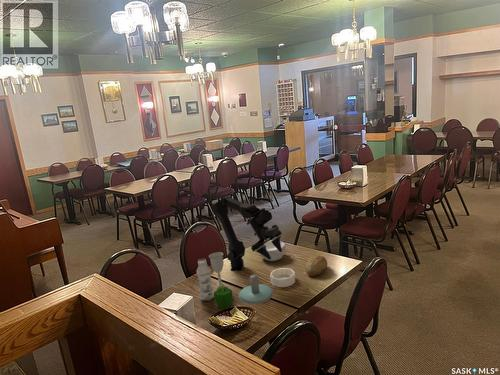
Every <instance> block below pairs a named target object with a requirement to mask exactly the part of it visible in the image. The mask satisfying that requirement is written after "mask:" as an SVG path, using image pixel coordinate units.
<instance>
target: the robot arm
mask: <svg viewBox="0 0 500 375" xmlns="http://www.w3.org/2000/svg"><path fill="white" fill-rule="evenodd" d="M228 207H229V208H231V209H233V210H235V211H236V212H238V213H240V215H241V216H242V217H243V218H244V219H247V222H246V225H247V226H248V225H250V227H251V228H252V229H253V231H254V233H253V234H254V236H256V237H257V238H258V241H256V243H254V244H252V245H251V251H252V252H255V253H258V254H259V255H260V254H262V255H263V256H265V257H266V258H268V259H269V260H270V259H271V257H270V255H269V253H268V252H267V250H266V245H265V246H264V244H265V243H266V242H268V241H271V242H272V244H273V245H274V246H275V247H276V248H277V249H278V250H279V251H280V252H282V249H281V245H280V241H281V237H282V234H283V233H282V231H281V230H280V227H279V226H278V224H273V225H272V226H271V227H269V226H267V225H266V224H267V223H269V222H270V221H271V220H272V218H273V215H272V212H270V211H269V210H267V209H266V208H265V207H263V208H261V209H260V208H259V207H257V206H256V204H251V203H244V202H241V201H240V200H237V199H235V198H232V197H231V196H230V195H227V196H224V197H222V198H220V199H219V200H218V201H217V202H215V203H213V204H212V206H211V211H212V212H213V214H214V216H215V217H216V218H218V219H219V222H220V224H221V226H222V229H223V231H224V234H225V236H226V239H227V242H228V251H229V252H228V254H227V255H226V259H227V260H228V261H230V267H231V268H230V271H242V270H243V269H244V267H245V261H244V259H243V257H245V253H246V247H245V245H244V242H243V241H242V240H241V241H240V240H239V239H238V236H237V234H236V232H235V230H234V227H233V224H232V222H231V221H230V218H229V215H228V214H229V208H228ZM265 225H266V226H265Z"/></svg>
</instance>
